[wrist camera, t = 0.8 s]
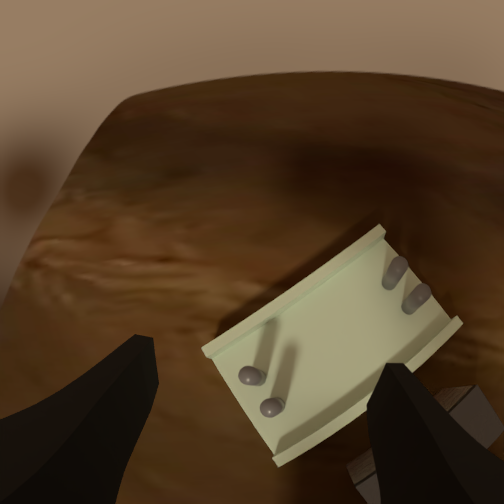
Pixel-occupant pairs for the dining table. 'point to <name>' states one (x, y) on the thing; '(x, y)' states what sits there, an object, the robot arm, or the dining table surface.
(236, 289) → the dining table surface
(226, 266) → the dining table surface
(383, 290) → the tray
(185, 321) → the dining table surface
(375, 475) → the block
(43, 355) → the dining table surface
